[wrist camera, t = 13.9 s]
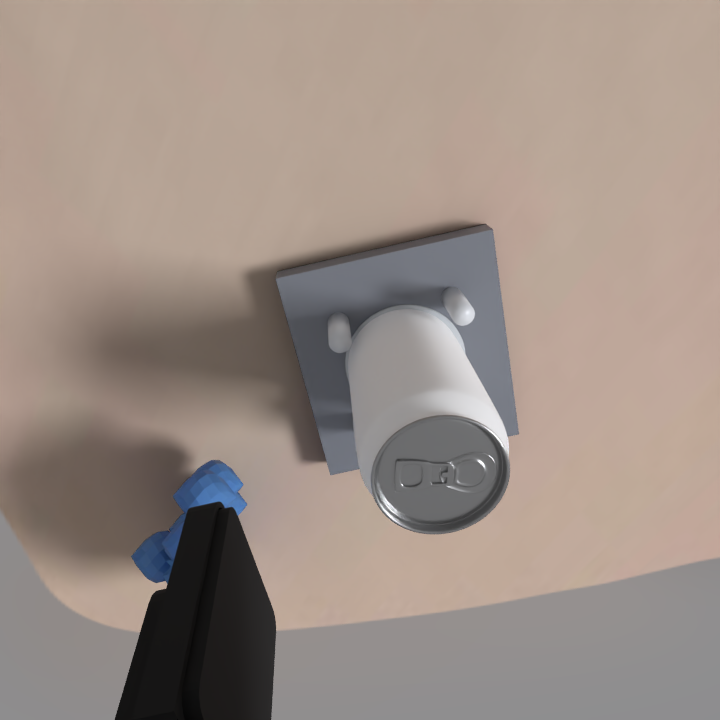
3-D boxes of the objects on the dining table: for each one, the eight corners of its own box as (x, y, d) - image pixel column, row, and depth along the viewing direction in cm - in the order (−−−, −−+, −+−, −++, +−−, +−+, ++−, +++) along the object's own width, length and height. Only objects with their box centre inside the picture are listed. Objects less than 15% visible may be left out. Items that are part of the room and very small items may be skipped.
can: (455, 407, 37) (513, 540, 26) (347, 410, 37) (359, 546, 26) (462, 305, 35) (529, 403, 24) (346, 307, 34) (360, 408, 23)
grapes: (149, 413, 38) (80, 544, 27) (260, 416, 38) (237, 545, 27) (162, 563, 42) (107, 727, 31) (261, 564, 43) (242, 725, 32)
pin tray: (277, 271, 35) (271, 295, 31) (485, 224, 35) (508, 241, 30) (330, 462, 40) (331, 504, 36) (511, 422, 40) (534, 460, 36)
